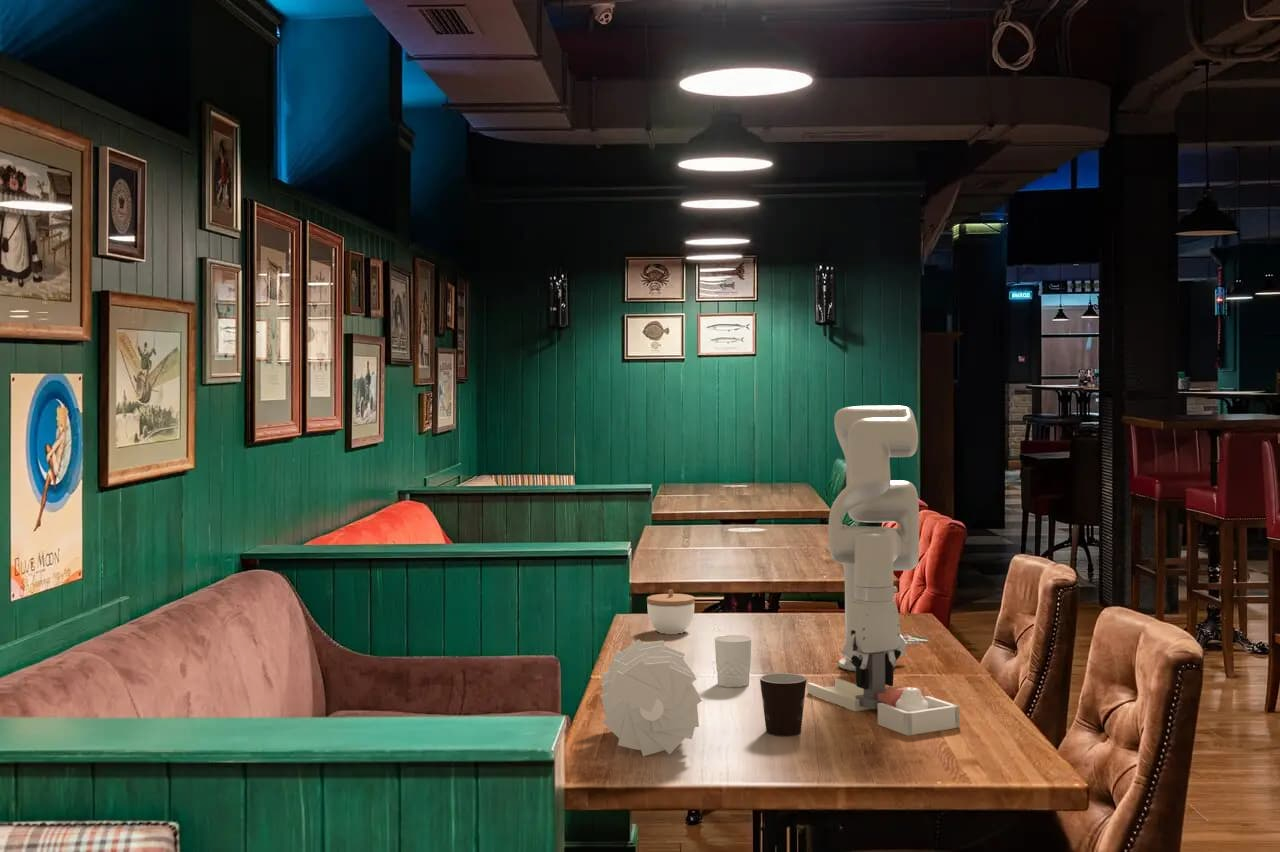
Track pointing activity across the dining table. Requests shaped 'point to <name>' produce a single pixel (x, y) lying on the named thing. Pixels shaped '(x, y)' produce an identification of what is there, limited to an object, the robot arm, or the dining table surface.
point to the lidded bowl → (670, 612)
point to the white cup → (733, 660)
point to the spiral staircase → (650, 697)
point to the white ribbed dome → (912, 700)
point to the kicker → (878, 684)
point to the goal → (920, 717)
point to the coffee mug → (783, 702)
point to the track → (839, 694)
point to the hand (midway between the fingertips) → (874, 685)
